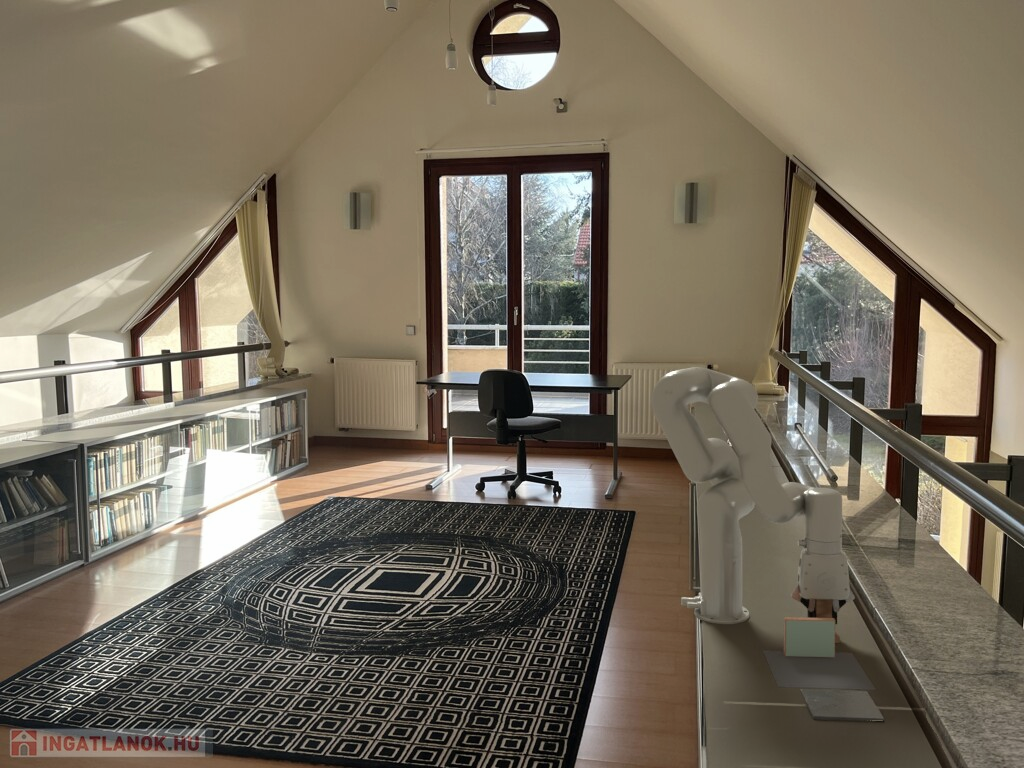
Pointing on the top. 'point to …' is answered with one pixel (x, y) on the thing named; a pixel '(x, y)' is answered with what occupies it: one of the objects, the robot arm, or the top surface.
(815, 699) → the plate
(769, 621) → the top surface
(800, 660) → the mat
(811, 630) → the tile
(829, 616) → the wooden block
